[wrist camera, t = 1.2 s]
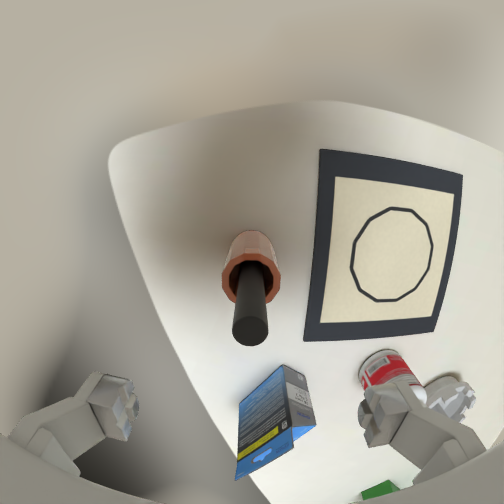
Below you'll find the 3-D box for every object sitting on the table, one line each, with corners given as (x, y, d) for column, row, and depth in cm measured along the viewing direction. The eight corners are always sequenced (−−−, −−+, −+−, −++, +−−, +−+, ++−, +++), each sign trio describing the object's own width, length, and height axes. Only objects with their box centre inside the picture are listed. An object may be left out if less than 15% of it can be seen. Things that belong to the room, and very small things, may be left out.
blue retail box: (261, 414, 33) (263, 489, 21) (237, 403, 32) (233, 481, 20) (306, 375, 31) (325, 456, 19) (281, 362, 30) (293, 447, 18)
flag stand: (418, 376, 31) (509, 530, 3) (472, 366, 32) (559, 477, 3) (387, 431, 35) (439, 567, 6) (440, 418, 35) (500, 526, 6)
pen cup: (231, 229, 26) (221, 252, 18) (273, 231, 26) (282, 254, 18) (230, 270, 27) (221, 306, 19) (271, 271, 27) (278, 308, 19)
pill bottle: (386, 385, 32) (416, 441, 21) (350, 383, 31) (376, 447, 21) (407, 349, 30) (448, 404, 19) (370, 345, 30) (408, 407, 19)
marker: (242, 243, 26) (231, 316, 12) (261, 243, 26) (269, 317, 12) (242, 260, 26) (232, 346, 13) (260, 261, 26) (267, 347, 13)
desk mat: (319, 149, 24) (321, 148, 23) (460, 174, 24) (463, 174, 23) (303, 339, 29) (303, 342, 29) (432, 330, 29) (434, 332, 29)
